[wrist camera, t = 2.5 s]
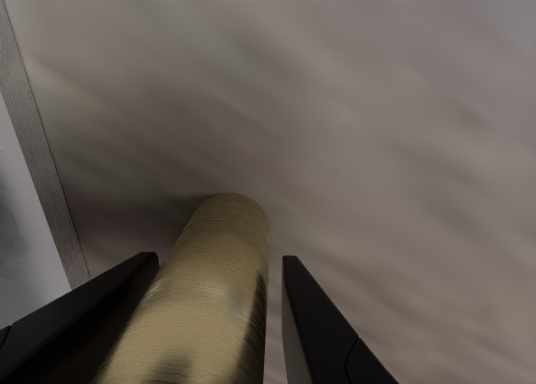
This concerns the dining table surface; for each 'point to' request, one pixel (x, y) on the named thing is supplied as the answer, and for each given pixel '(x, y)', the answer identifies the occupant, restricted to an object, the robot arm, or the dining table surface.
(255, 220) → the pin
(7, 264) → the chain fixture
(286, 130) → the dining table surface
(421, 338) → the dining table surface
